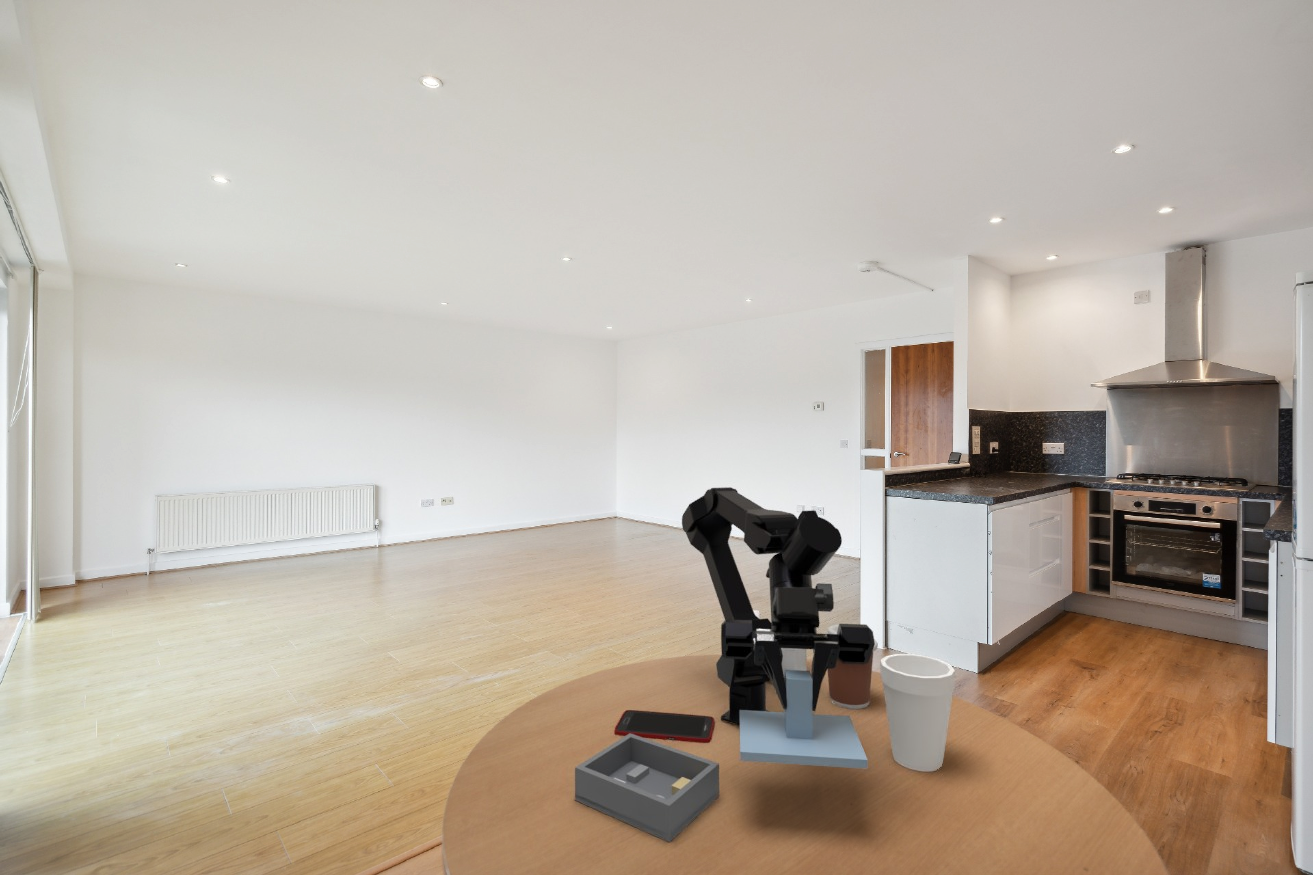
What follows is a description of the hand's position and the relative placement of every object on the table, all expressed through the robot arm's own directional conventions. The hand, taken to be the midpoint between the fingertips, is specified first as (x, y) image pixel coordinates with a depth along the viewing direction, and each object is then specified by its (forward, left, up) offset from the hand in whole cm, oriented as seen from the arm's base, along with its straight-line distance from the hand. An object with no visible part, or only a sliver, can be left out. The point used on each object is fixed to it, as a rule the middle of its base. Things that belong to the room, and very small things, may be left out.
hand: (799, 708), depth 74 cm
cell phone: (-9, -26, -13) cm, 30 cm away
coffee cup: (-35, -6, -12) cm, 38 cm away
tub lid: (-1, -1, -5) cm, 5 cm away
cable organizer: (-36, -20, -13) cm, 43 cm away
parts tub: (+8, -17, -12) cm, 22 cm away
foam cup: (-21, +8, -13) cm, 26 cm away
